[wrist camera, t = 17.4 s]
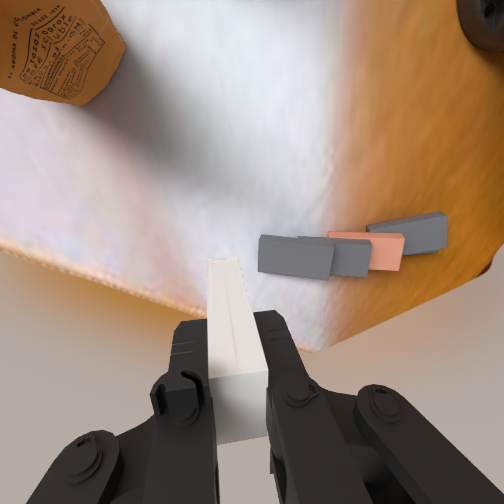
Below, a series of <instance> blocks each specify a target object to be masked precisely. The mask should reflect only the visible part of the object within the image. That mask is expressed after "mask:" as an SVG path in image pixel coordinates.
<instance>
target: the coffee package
mask: <svg viewBox="0 0 504 504" xmlns="http://www.w3.org/2000/svg"><path fill="white" fill-rule="evenodd" d="M124 52H125V43H124V41H123V40H122V38H121V36H120V35H119V33H118V32H117V31H116V29H115V28H114V26H113V23H112V21H111V18H110V16H109V14H108V12H107V10H106V9H105V7H104V6H103V4H102V3H101V1H100V0H0V88H3V89H5V90H8V91H10V92H13V93H17V94H21V95H24V96H27V97H31V98H34V99H40V100H47V101H53V102H59V103H68V104H72V105H78V106H83V105H85V104H87V103H88V102H89V101H90V100H91V99H92V98H93V97H95V96H96V95H97V94H99V93H100V92H101V91H102V90H103V89H104V88H105V87H106V86H107V85H108V83H109V82H110V79H111V77H112V75H113V74H114V72H115V71H116V69H117V67H118V65H119V63H120V61H121V58H122V56H123V54H124Z"/></svg>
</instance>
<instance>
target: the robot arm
mask: <svg viewBox="0 0 504 504" xmlns="http://www.w3.org/2000/svg"><path fill="white" fill-rule="evenodd" d="M457 3H458V12H459V17H460V21H461V24H462V27H463V29H464V31H465V33H466V35H467V36H468V38H469V39H470V40H471V41H472V43H474V44H475V45H476V46H477V47H479V48H481V49H483V50H486V51H492V52H498V51H504V0H457ZM206 279H207V319H199V320H190V321H182V322H180V324H179V325H178V327H177V328H176V330H175V331H174V335H173V342H172V349H171V356H170V363H169V370H168V372H167V373H165V374H164V375H162V376H161V377H160V378H159V379H158V380H157V381H156V383H155V384H154V385H153V388H152V390H151V392H150V398H151V402H152V406H153V409H154V415H153V416H151V417H150V418H149V419H148V420H147V421H145V422H144V423H142V424H140V425H139V426H137V427H135V428H133V429H131V430H129V431H126V432H124V433H122V434H120V435H118V436H116V437H115V436H114V435H113V433H111V432H108V431H105V430H99V431H91V432H89V433H87V434H85V435H82V436H80V437H78V438H77V439H75V440H74V441H73V442H71V443H70V444H69V445H68V446H66V447H65V448H64V449H63V451H62V452H61V453H60V454H59V456H58V457H57V458H56V459H55V460H54V462H53V463H52V465H51V466H50V468H49V469H48V471H47V473H46V474H45V475H44V477H43V478H42V480H41V481H40V483H39V484H38V486H37V488H36V489H35V491H34V492H33V494H32V495H31V497H30V498H29V500H28V501H27V503H26V504H220V493H219V470H218V461H217V445H220V444H225V443H231V442H236V441H242V440H247V439H252V438H258V437H264V436H267V430H268V435H269V440H270V444H271V448H270V474H273V473H274V478H275V482H276V487H277V492H278V497H279V502H280V504H504V494H503V493H502V492H501V491H500V490H499V489H498V488H497V487H496V486H495V485H494V484H493V483H492V482H491V481H490V480H489V479H488V478H487V477H486V476H485V475H484V474H483V473H481V472H480V471H479V470H478V469H477V468H476V467H475V466H474V465H473V464H472V463H471V462H470V461H469V460H468V459H467V458H466V457H465V456H464V455H463V454H462V453H461V452H460V451H459V450H458V449H457V448H456V447H455V446H454V445H452V443H450V441H448V440H447V439H446V438H445V437H444V436H443V435H442V434H441V433H440V432H439V431H438V430H437V429H436V428H435V427H434V426H433V425H432V424H431V423H430V422H429V421H428V420H427V419H426V418H425V417H424V416H423V415H422V414H421V413H419V411H418V410H417V409H416V408H415V407H413V406H412V405H411V404H410V403H409V402H408V401H407V400H406V399H405V398H404V397H403V396H401V395H400V394H399V393H398V392H396V391H395V390H393V389H390V388H388V387H386V386H383V385H376V384H372V385H367V386H364V387H363V388H362V389H361V390H359V392H358V395H357V396H355V395H349V394H342V393H336V392H332V391H328V390H326V389H324V388H322V387H320V386H319V385H318V384H317V383H316V382H315V381H314V380H313V379H311V378H310V377H309V375H308V373H307V372H306V370H305V367H304V365H303V362H302V360H301V358H300V355H299V353H298V351H297V348H296V346H295V343H294V341H293V339H292V336H291V334H290V332H289V330H288V327H287V325H286V322H285V320H284V318H283V317H282V316H281V315H280V314H279V313H278V312H277V311H275V310H270V311H262V312H253V311H252V307H251V304H250V300H249V296H248V293H247V289H246V285H245V281H244V278H243V274H242V270H241V266H240V263H239V259H238V257H236V258H224V259H212V260H206Z"/></svg>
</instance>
